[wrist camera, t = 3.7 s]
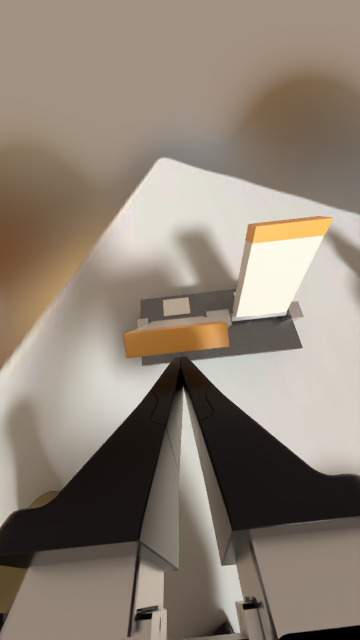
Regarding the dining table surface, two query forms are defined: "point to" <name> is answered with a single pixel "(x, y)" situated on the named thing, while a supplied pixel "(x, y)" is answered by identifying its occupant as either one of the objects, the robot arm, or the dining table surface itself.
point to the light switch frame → (219, 306)
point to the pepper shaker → (6, 580)
